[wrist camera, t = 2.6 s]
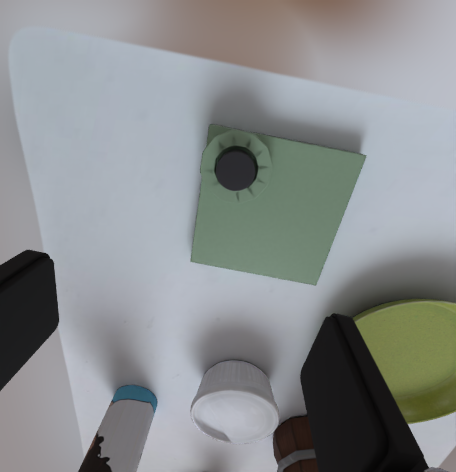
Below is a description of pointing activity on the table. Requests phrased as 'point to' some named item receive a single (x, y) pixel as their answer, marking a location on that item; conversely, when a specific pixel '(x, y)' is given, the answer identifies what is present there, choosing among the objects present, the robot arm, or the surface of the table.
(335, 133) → the table surface
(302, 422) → the mug
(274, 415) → the ramekin
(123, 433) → the cup
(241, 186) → the button
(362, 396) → the robot arm
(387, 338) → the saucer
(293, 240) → the scale
